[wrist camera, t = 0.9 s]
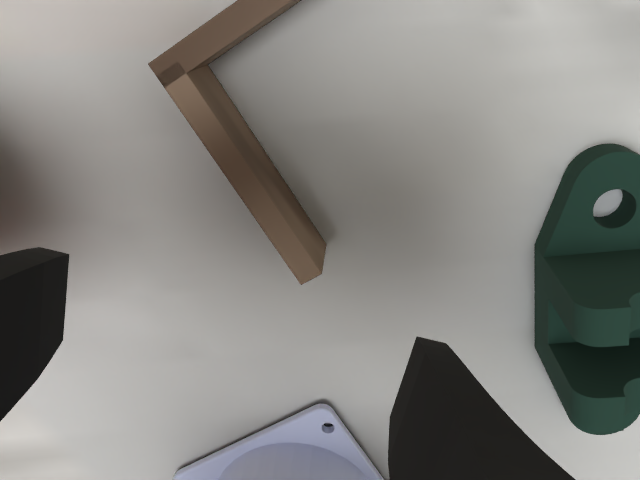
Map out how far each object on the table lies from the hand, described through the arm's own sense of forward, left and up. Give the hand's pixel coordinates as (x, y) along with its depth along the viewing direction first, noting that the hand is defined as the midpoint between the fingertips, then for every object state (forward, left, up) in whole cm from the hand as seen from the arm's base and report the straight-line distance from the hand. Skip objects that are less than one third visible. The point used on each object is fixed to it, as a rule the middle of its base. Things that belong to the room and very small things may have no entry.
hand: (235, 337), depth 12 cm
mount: (-9, -8, -10) cm, 15 cm away
